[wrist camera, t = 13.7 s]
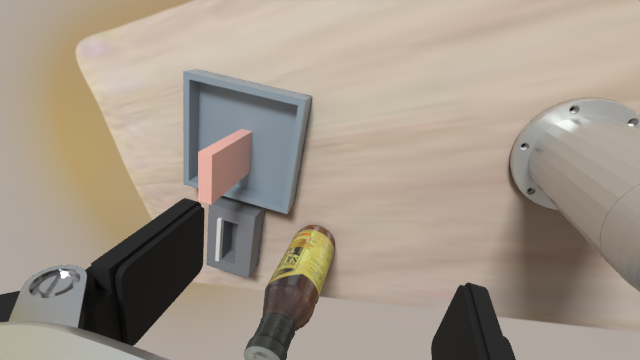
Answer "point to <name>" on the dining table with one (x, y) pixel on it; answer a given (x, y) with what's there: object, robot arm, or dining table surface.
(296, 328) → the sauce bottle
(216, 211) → the dispenser
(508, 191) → the dining table surface
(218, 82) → the tray
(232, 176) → the ticket
